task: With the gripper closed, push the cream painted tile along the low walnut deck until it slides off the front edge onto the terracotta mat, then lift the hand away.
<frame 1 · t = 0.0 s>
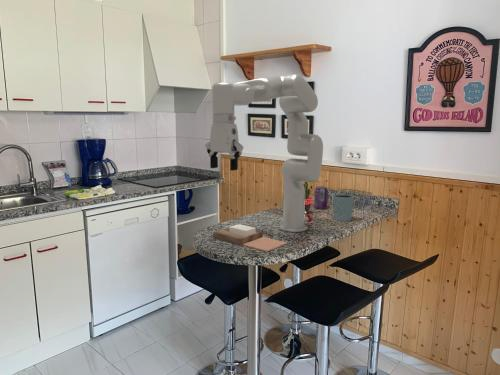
hand: (223, 169, 138), 31 cm above the table, tool pointing down, fingers open, 9 cm apart
grey-blue bin: (342, 219, 194), on the table
tile: (242, 233, 161), point 2 cm above the table, touching deck
beverage can: (320, 208, 219), on the table
ramekin: (301, 212, 209), on the table
deck: (238, 237, 163), on the table
mat: (265, 244, 154), on the table
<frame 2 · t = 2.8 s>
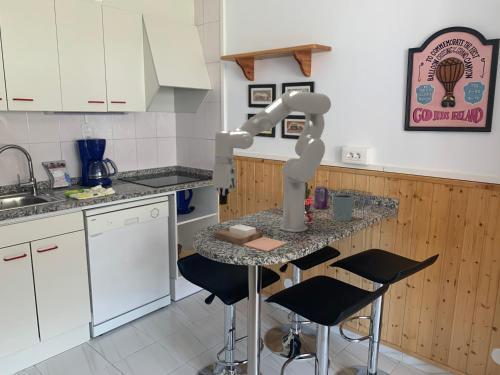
hand: (223, 204, 165), 13 cm above the table, tool pointing down, fingers closed
nothing on the table moved.
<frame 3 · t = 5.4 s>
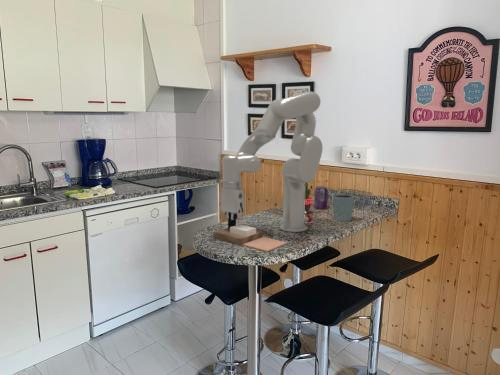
hand: (232, 228, 164), 3 cm above the table, tool pointing down, fingers closed
tile: (243, 233, 160), point 3 cm above the table, touching gripper
everything else where it was.
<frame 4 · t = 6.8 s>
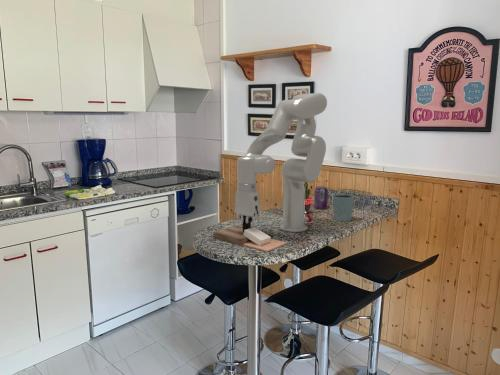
hand: (246, 231, 159), 3 cm above the table, tool pointing down, fingers closed
tile: (256, 238, 156), point 2 cm above the table, tilted 17°, touching gripper
everything else where it was.
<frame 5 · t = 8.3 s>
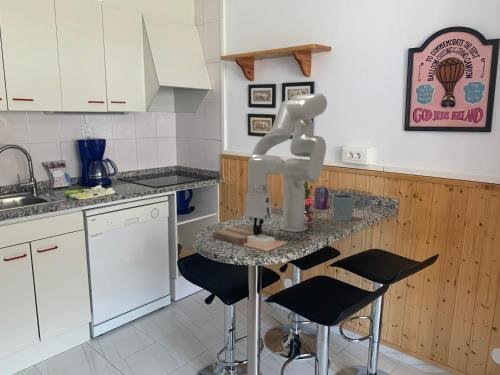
hand: (257, 234, 155), 4 cm above the table, tool pointing down, fingers closed
tile: (260, 243, 154), resting on mat
everything else where it was.
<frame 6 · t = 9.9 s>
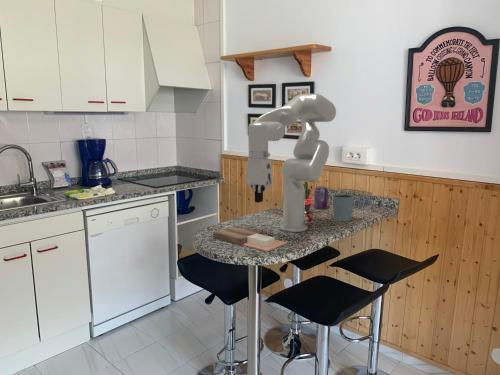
hand: (258, 201, 154), 17 cm above the table, tool pointing down, fingers closed
nothing on the table moved.
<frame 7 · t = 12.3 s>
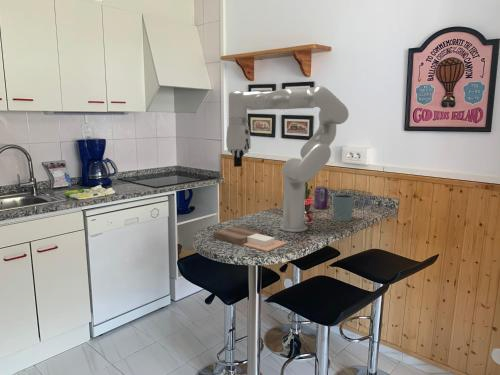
hand: (237, 166, 164), 29 cm above the table, tool pointing down, fingers closed
nothing on the table moved.
at the end: tile inside the target area (2.1 cm from its centre), resting on mat; tile touching mat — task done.
